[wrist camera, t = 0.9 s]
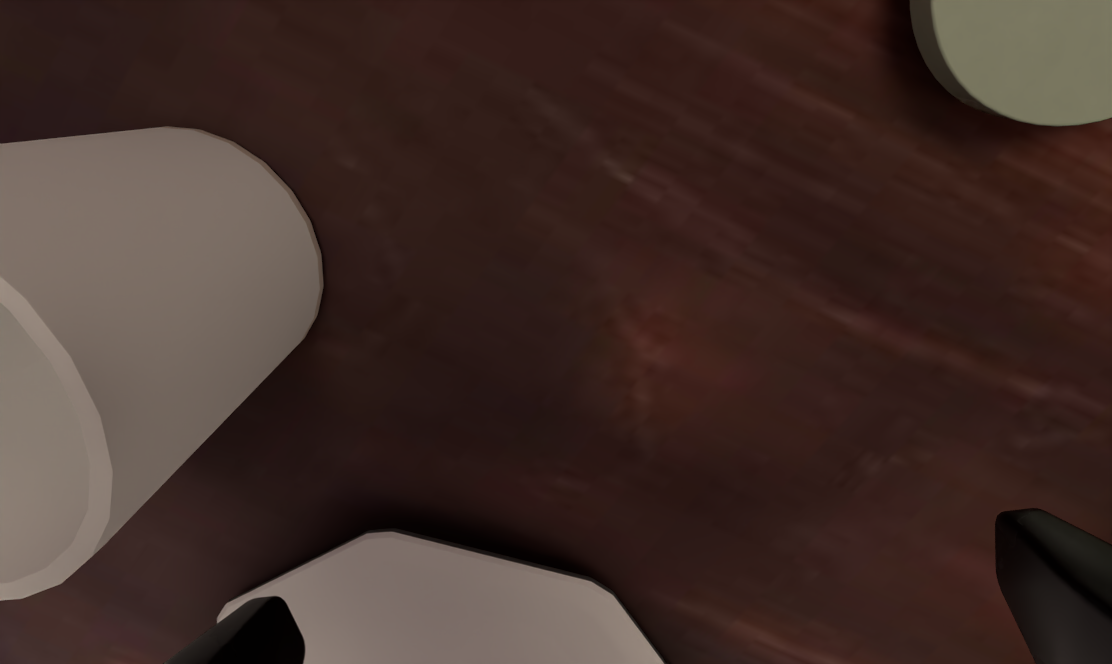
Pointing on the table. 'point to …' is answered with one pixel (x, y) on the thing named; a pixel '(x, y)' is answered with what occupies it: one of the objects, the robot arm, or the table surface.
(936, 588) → the table surface
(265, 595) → the plate
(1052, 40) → the green cylinder
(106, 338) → the mug
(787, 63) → the table surface
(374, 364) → the table surface
